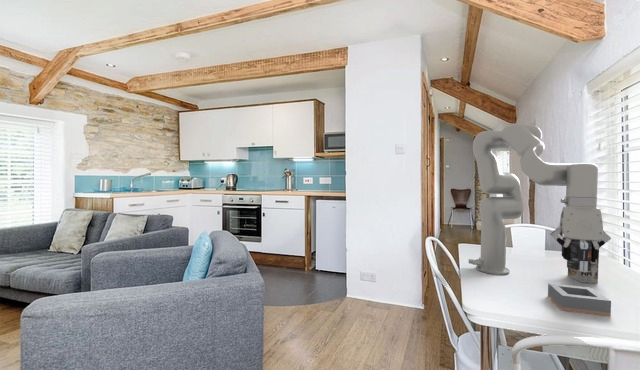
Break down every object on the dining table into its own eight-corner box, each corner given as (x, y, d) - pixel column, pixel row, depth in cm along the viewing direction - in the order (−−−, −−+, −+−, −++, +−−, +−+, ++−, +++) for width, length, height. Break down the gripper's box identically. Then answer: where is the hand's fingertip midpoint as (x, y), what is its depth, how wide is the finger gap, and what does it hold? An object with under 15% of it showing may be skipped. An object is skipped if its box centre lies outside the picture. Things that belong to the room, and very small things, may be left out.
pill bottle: (592, 273, 97) (593, 235, 97) (567, 270, 101) (569, 233, 100) (589, 268, 102) (590, 233, 102) (565, 265, 106) (566, 231, 105)
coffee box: (598, 283, 124) (600, 241, 123) (579, 282, 125) (581, 240, 125) (584, 276, 133) (586, 237, 132) (566, 275, 134) (568, 236, 134)
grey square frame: (561, 310, 98) (562, 295, 98) (547, 296, 110) (548, 283, 109) (610, 316, 94) (611, 301, 94) (590, 301, 106) (591, 287, 106)
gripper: (552, 202, 100) (551, 260, 101) (622, 204, 95) (619, 266, 95) (544, 201, 107) (542, 255, 108) (608, 203, 102) (606, 260, 102)
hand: (578, 259), depth 101 cm, fingers closed on pill bottle, 6 cm apart
